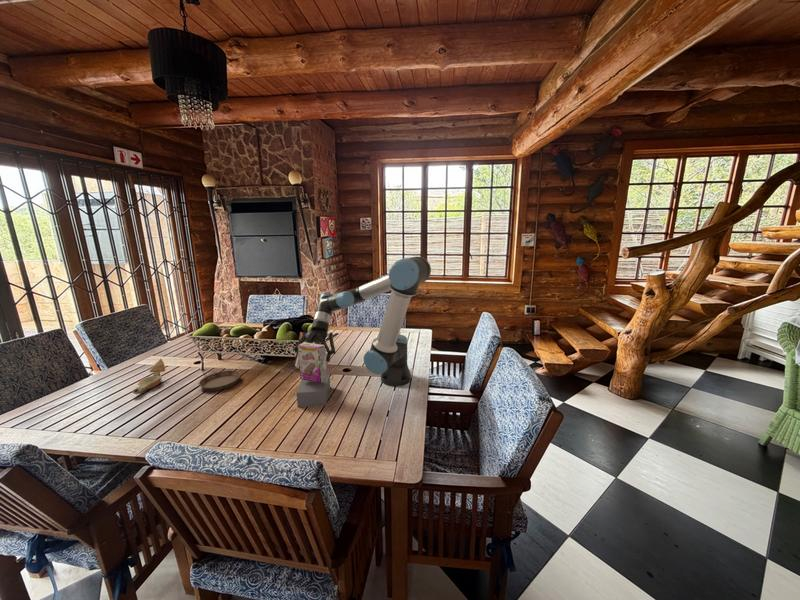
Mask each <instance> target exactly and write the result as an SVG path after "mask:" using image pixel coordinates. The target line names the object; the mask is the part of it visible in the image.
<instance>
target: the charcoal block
mask: <svg viewBox="0 0 800 600" xmlns="http://www.w3.org/2000/svg"><path fill="white" fill-rule="evenodd" d="M330 375H331V374H328V373H327V379H326V380H325V381H323V382H322V383H318V382H313V381H307V380H302V379H301V381H300V384H299V386H298V388H297V390H296V404H297V408H303V407H320V406H321V407H322V406H327V404H328V400H329V399H328V398H329V395H330V389H331V379H330V377H331V376H330Z"/></svg>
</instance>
